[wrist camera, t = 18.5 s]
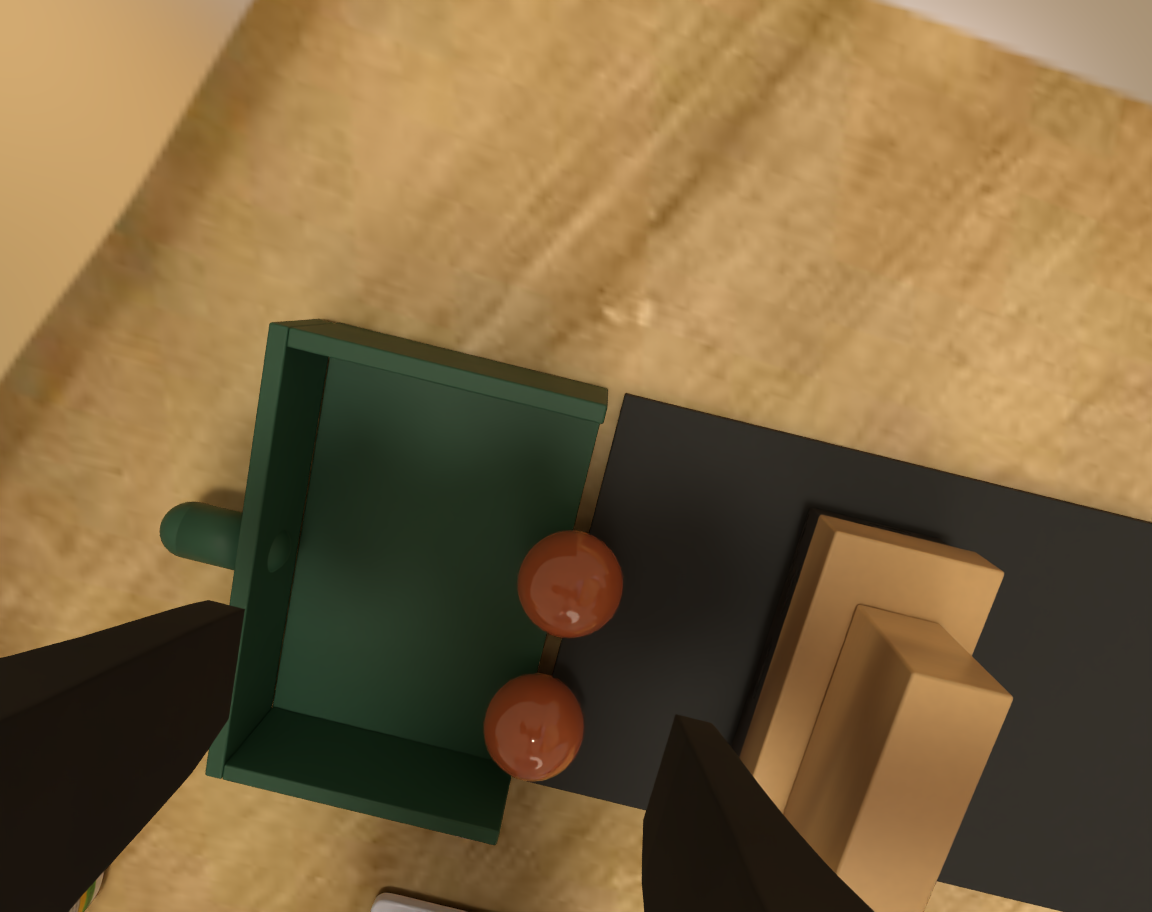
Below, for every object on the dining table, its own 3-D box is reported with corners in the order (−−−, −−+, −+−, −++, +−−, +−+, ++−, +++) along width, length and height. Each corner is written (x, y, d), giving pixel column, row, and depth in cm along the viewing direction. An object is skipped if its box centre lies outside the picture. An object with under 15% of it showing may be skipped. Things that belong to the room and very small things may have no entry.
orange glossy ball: (538, 497, 21) (636, 524, 20) (551, 559, 23) (641, 586, 22) (488, 579, 19) (594, 614, 18) (507, 639, 21) (603, 672, 20)
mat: (1305, 964, 24) (1314, 973, 23) (526, 775, 24) (525, 781, 23) (1510, 610, 21) (1522, 615, 21) (625, 392, 21) (625, 394, 20)
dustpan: (608, 388, 21) (607, 405, 18) (512, 772, 24) (495, 846, 20) (227, 294, 21) (156, 294, 18) (176, 690, 24) (107, 752, 20)
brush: (839, 832, 23) (924, 1033, 17) (706, 800, 23) (742, 988, 17) (951, 534, 21) (1099, 636, 15) (804, 498, 21) (888, 585, 15)
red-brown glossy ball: (520, 819, 19) (462, 764, 22) (602, 778, 21) (541, 731, 24) (525, 717, 19) (464, 671, 21) (609, 685, 21) (545, 646, 23)
